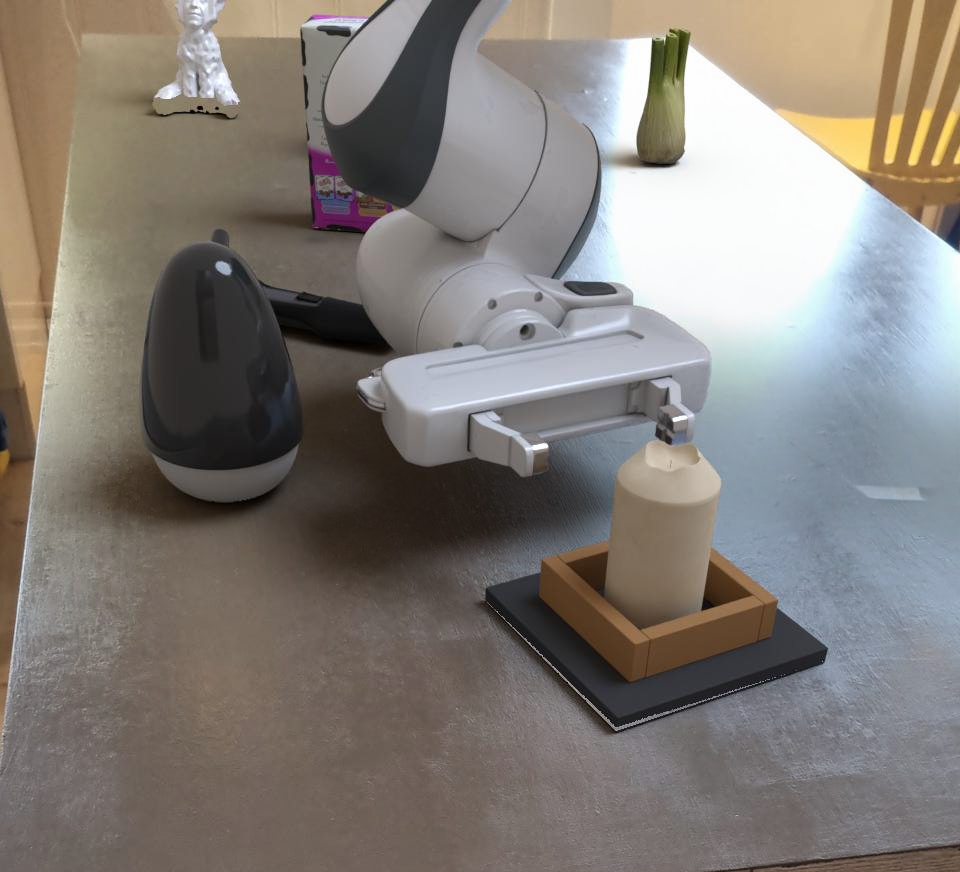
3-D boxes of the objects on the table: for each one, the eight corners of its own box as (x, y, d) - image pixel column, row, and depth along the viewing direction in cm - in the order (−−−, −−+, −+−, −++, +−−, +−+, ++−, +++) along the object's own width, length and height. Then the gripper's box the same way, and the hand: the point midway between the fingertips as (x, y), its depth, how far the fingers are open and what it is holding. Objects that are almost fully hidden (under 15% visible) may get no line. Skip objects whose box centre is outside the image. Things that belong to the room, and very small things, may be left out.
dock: (680, 546, 85) (687, 495, 83) (825, 662, 76) (838, 609, 74) (484, 601, 80) (486, 549, 78) (615, 733, 71) (622, 678, 69)
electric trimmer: (395, 363, 104) (395, 322, 102) (220, 323, 109) (217, 282, 106) (417, 345, 107) (417, 304, 105) (245, 307, 111) (242, 267, 109)
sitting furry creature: (151, 116, 149) (135, -12, 141) (167, 95, 155) (153, -29, 147) (238, 120, 149) (227, -8, 141) (251, 98, 155) (241, -26, 147)
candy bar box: (439, 220, 127) (440, 18, 116) (430, 238, 124) (431, 32, 113) (322, 211, 128) (311, 10, 117) (309, 229, 125) (298, 23, 114)
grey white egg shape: (317, 449, 93) (303, 216, 83) (296, 526, 86) (278, 279, 75) (168, 443, 94) (135, 209, 83) (134, 519, 86) (94, 272, 76)
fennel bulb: (643, 171, 140) (657, 37, 132) (622, 156, 143) (634, 25, 135) (693, 165, 141) (710, 33, 133) (671, 151, 145) (686, 21, 136)
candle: (582, 609, 78) (597, 445, 71) (652, 579, 80) (672, 418, 74) (649, 654, 75) (671, 487, 68) (719, 621, 77) (748, 457, 71)
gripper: (342, 326, 79) (443, 426, 70) (644, 278, 86) (770, 363, 77) (346, 429, 84) (442, 535, 75) (633, 374, 91) (752, 466, 82)
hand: (612, 447), depth 76 cm, fingers open, 8 cm apart
